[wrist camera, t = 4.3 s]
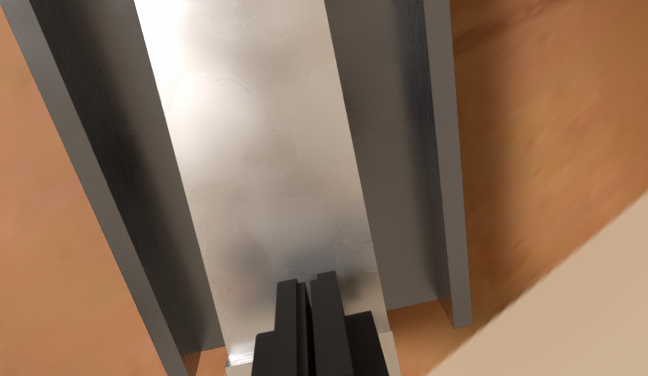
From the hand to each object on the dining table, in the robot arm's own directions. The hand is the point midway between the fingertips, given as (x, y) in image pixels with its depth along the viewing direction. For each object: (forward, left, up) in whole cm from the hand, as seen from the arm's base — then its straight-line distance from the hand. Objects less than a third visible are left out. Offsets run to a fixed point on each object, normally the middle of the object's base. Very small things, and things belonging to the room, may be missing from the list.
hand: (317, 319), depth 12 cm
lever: (-6, 0, -4) cm, 7 cm away
